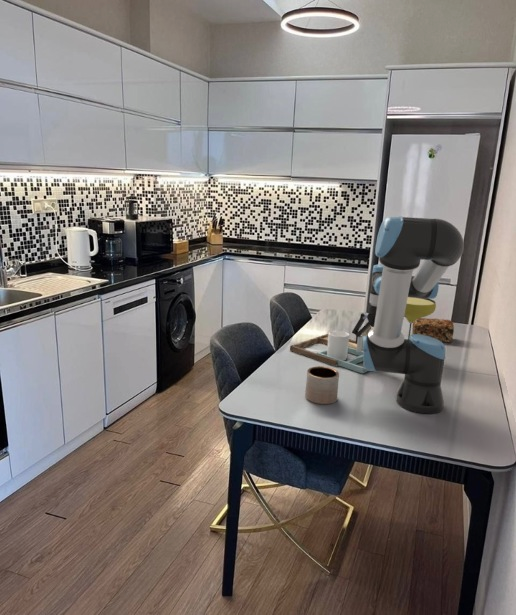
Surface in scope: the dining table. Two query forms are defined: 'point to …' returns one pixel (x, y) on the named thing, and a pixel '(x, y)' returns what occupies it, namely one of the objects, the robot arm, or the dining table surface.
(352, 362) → the teal divided frame
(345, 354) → the mug
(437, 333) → the bread
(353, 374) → the dining table surface
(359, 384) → the dining table surface
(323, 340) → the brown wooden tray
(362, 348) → the light wood drawer
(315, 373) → the planter
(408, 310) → the cocktail glass
